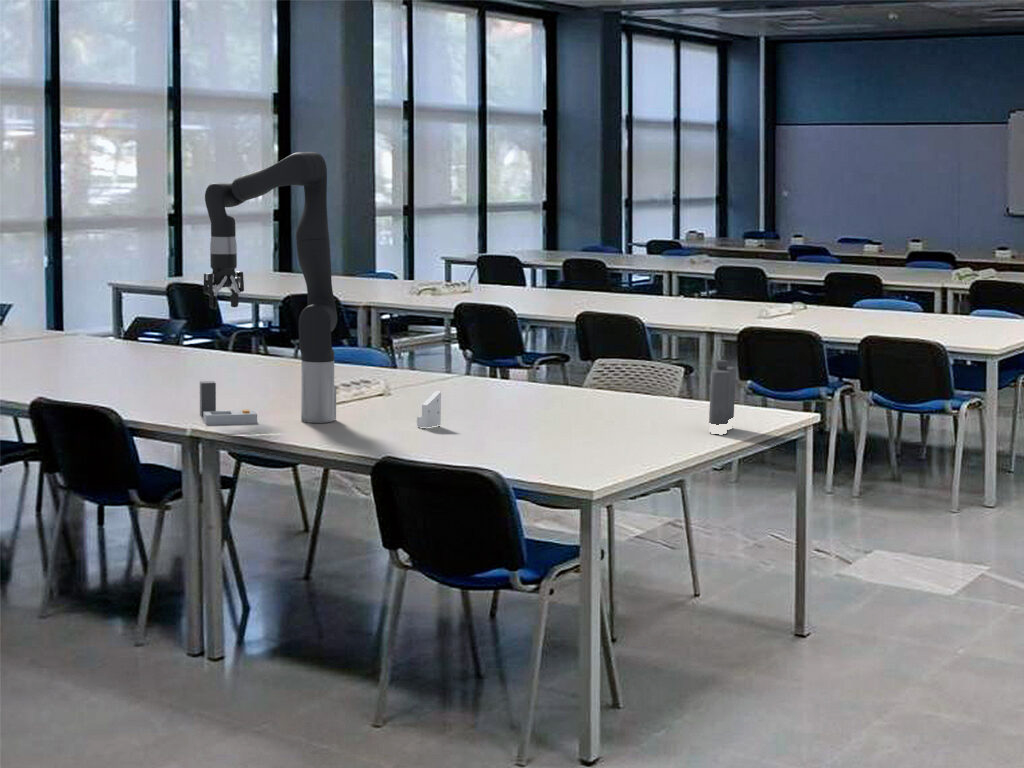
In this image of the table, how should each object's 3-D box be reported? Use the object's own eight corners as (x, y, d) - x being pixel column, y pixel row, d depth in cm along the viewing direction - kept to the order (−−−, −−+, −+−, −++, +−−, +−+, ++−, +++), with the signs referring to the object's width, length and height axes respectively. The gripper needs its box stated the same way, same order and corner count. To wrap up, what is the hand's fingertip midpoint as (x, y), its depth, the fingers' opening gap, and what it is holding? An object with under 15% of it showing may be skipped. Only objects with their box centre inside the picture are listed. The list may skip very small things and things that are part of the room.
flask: (714, 426, 436) (717, 357, 433) (734, 427, 434) (737, 358, 432) (704, 434, 422) (707, 363, 419) (725, 435, 420) (728, 364, 418)
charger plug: (214, 415, 434) (213, 380, 433) (215, 417, 431) (215, 382, 429) (199, 415, 433) (199, 381, 432) (201, 418, 429) (201, 383, 428)
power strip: (253, 420, 427) (253, 408, 427) (257, 424, 420) (257, 412, 420) (203, 422, 423) (203, 409, 422) (205, 426, 416) (205, 413, 416)
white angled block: (451, 416, 427) (441, 391, 423) (429, 437, 421) (419, 412, 417) (441, 414, 430) (431, 390, 425) (420, 436, 424) (409, 411, 419)
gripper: (215, 253, 432) (216, 310, 434) (250, 251, 444) (250, 307, 446) (196, 252, 436) (197, 308, 438) (231, 250, 448) (231, 305, 450)
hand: (224, 308), depth 442 cm, fingers open, 8 cm apart
